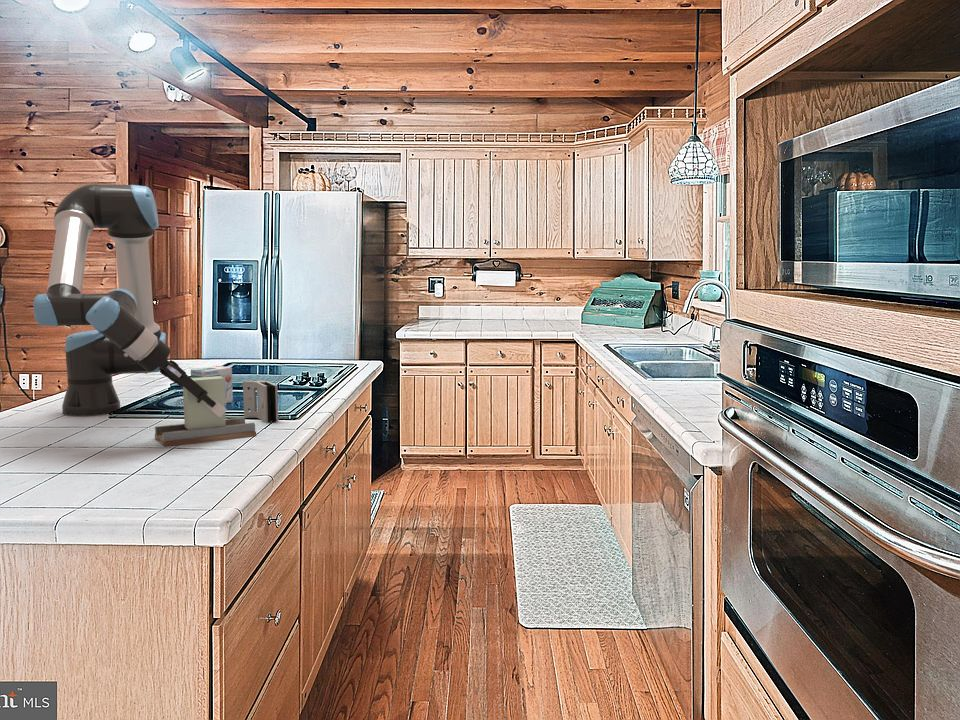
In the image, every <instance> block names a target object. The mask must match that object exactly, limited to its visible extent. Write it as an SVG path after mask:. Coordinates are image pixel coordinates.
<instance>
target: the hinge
mask: <svg viewBox="0 0 960 720" xmlns="http://www.w3.org/2000/svg"><path fill="white" fill-rule="evenodd" d="M242 393H243V394H242V395H243V396H242V397H243V399H242V400H243V417H249V418H257V419H259V420H261V421H263V422H264V423H269V424H272V423H277V422H279V400H278V399H279V397H278V395H279V392H278V384H275V383H273V382H272V381H267V380H255V381H253V380H242ZM249 409H250V410H249Z"/></svg>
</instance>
